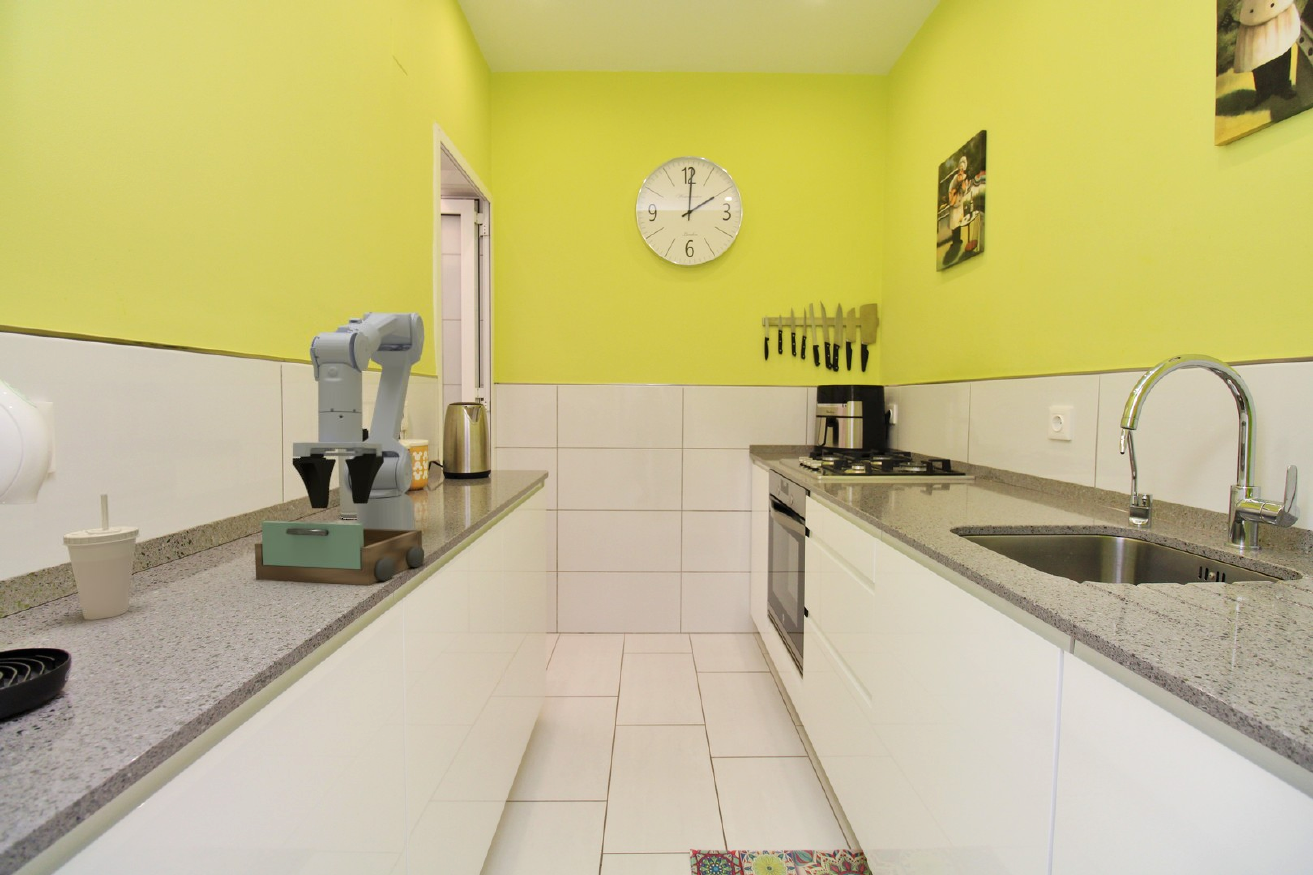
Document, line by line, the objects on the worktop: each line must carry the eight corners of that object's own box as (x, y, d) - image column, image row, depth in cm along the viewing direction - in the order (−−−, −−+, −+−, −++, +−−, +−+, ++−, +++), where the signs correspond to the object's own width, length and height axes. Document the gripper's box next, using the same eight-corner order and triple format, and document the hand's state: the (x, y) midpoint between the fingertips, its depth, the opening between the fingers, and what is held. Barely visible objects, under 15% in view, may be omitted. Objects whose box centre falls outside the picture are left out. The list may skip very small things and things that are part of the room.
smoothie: (96, 625, 63) (89, 498, 62) (51, 621, 64) (44, 497, 64) (157, 606, 69) (152, 490, 69) (115, 603, 70) (109, 490, 70)
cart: (316, 557, 92) (315, 526, 92) (428, 562, 88) (427, 530, 88) (250, 578, 81) (248, 543, 80) (375, 585, 77) (374, 548, 77)
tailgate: (268, 563, 81) (266, 521, 81) (364, 567, 78) (362, 523, 78) (258, 566, 79) (256, 523, 79) (356, 570, 76) (354, 526, 76)
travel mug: (378, 515, 132) (376, 428, 131) (357, 520, 126) (354, 429, 125) (355, 514, 134) (352, 428, 133) (333, 519, 127) (330, 429, 126)
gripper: (322, 408, 77) (322, 510, 76) (397, 415, 91) (398, 501, 90) (280, 410, 78) (280, 510, 78) (360, 417, 92) (360, 501, 92)
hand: (340, 505), depth 84 cm, fingers open, 7 cm apart
